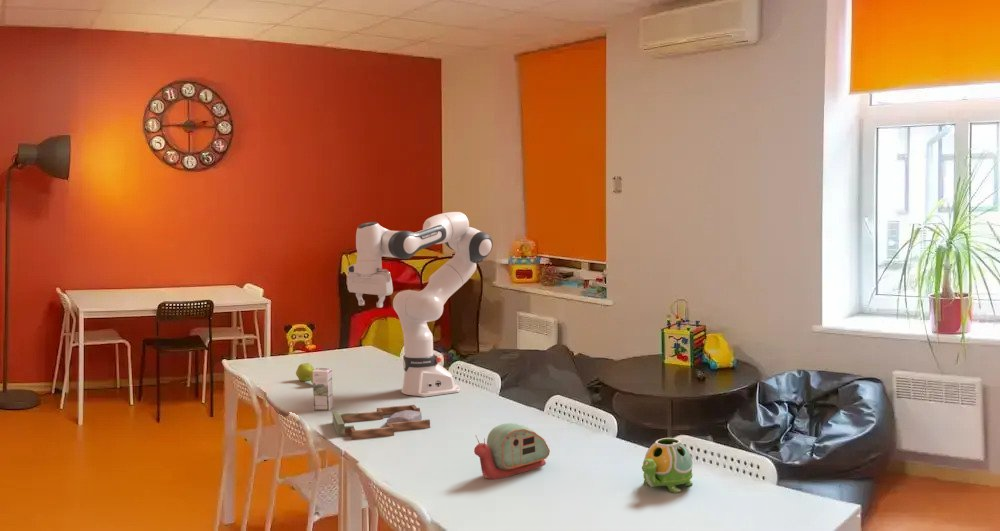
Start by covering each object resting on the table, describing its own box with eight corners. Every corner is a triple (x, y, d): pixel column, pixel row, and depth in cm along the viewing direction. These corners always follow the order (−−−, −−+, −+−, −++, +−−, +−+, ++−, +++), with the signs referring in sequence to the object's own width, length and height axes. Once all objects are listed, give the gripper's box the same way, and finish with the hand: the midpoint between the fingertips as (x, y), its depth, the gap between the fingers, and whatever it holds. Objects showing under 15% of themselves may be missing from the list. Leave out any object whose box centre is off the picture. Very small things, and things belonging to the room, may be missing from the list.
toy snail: (536, 459, 263) (535, 413, 262) (553, 465, 257) (553, 418, 256) (467, 478, 247) (466, 429, 246) (484, 485, 241) (483, 435, 240)
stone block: (385, 433, 299) (414, 428, 297) (382, 419, 299) (411, 414, 296) (397, 425, 310) (424, 420, 308) (394, 411, 310) (421, 406, 308)
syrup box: (333, 406, 327) (332, 367, 326) (329, 410, 322) (327, 370, 320) (318, 406, 328) (316, 367, 327) (313, 410, 322) (311, 370, 321)
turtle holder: (624, 491, 235) (623, 446, 234) (662, 473, 249) (662, 431, 247) (664, 502, 227) (664, 456, 226) (701, 483, 240) (702, 439, 239)
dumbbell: (331, 385, 362) (330, 367, 361) (312, 388, 357) (312, 370, 356) (312, 378, 375) (312, 361, 374) (294, 381, 370) (294, 364, 369)
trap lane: (416, 411, 319) (416, 400, 318) (433, 431, 293) (432, 419, 293) (331, 419, 310) (330, 407, 310) (340, 440, 285) (339, 428, 284)
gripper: (396, 268, 317) (397, 307, 318) (356, 265, 330) (358, 303, 331) (383, 270, 312) (384, 309, 313) (343, 267, 325) (345, 305, 326)
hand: (370, 306), depth 322 cm, fingers open, 8 cm apart
